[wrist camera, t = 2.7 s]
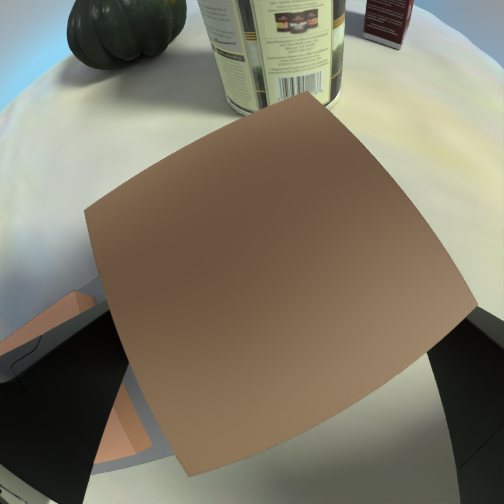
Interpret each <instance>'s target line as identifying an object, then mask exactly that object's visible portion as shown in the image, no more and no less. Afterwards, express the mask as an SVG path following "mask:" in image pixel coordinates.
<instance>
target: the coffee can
mask: <svg viewBox="0 0 504 504" xmlns="http://www.w3.org/2000/svg"><path fill="white" fill-rule="evenodd" d="M197 1H198V4H199V7H200V10H201V14H202V17H203V20H204V23H205V26H206V30H207V33H208V36H209V40H210V43H211V46H212V49H213V52H214V56H215V59H216V63H217V66H218V69H219V73H220V76H221V79H222V82H223V86H224V90H225V96H226V99H227V102H228V103H229V104H230V106H231V107H232V108H233V109H234V110H236V111H237V112H238V113H240V114H242V115H244V116H247V115H250V114H252V113H254V112H256V111H259V110H261V109H263V108H265V107H268V106H270V105H273V104H275V103H277V102H280V101H282V100H285V99H287V98H290V97H292V96H295V95H297V94H300V93H303V92H305V91H308V92H309V93H310V94H311V95H313V96H314V97H315V98H316V99H317V100H318V101H319V102H320V103H321V104H323V105H324V106H325V107H326V108H327V109H328V110H330V109H331V108H332V107H333V106H334V105H335V104H336V102H337V101H338V99H339V97H340V94H341V76H342V65H343V48H344V27H345V2H346V0H197Z"/></svg>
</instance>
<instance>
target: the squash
mask: <svg viewBox="0 0 504 504" xmlns="http://www.w3.org/2000/svg"><path fill="white" fill-rule="evenodd" d="M186 11H187V6H186V0H76V1H75V3H74V5H73V8H72V10H71V12H70V15H69V19H68V25H67V41H68V44H69V48H70V50H71V51H72V52H73V54H74V55H75V56H76V57H77V58H78V59H79V60H80V61H81V62H83V63H84V64H85V65H87V66H89V67H92V68H95V69H100V70H107V69H111V68H116V67H119V66H121V65H123V64H124V63H126V62H127V60H132V59H135V58H137V57H138V56H139V55H140V54H141V52H142V53H143V54H145V55H148V56H153V55H158V54H160V53H162V52H163V51H164V50H165V49H166V48H167V46H168V44H169V42H170V41H171V40H173V39H174V38H176V37H177V36H178V35H179V34H180V32H181V31H182V29H183V27H184V25H185V21H186Z"/></svg>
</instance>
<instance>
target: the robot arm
mask: <svg viewBox="0 0 504 504" xmlns="http://www.w3.org/2000/svg"><path fill="white" fill-rule="evenodd" d="M427 355H428V358H429V361H430V364H431V367H432V371H433V374H434V377H435V380H436V384H437V387H438V390H439V394H440V398H441V401H442V405H443V409H444V413H445V417H446V421H447V425H448V429H449V434H450V438H451V443H452V448H453V453H454V458H455V464H456V469H457V478H458V485H459V493H460V502H461V504H504V321H502V320H501V319H499V318H497V317H496V316H494V315H492V314H491V313H489V312H487V311H485V310H484V309H482V308H480V307H478V306H476V307H475V308H474V309H473V310H472V311H471V312H470V313H469V314H468V315H467V316H466V317H465V318H464V319H463V320H462V321H461V322H460V323H459V324H458V325H457V326H456V327H455V328H454V329H452V330H451V331H450V332H449V333H448V334H447V335H446V336H445V337H444V338H442V339H441V340H440V341H439V342H438V343H437V344H435V345H434V346H433V347H432V348H431V349H430V350H428V351H427ZM128 365H129V360H128V358H127V355H126V353H125V350H124V348H123V345H122V343H121V340H120V337H119V334H118V332H117V329H116V326H115V323H114V320H113V318H112V315H111V312H110V309H109V306H108V302H107V299H106V300H105V301H103V302H101V303H99V304H97V305H95V306H93V307H91V308H89V309H88V310H86V311H84V312H82V313H80V314H78V315H76V316H74V317H73V318H71V319H69V320H67V321H65V322H63V323H61V324H60V325H58V326H56V327H54V328H52V329H50V330H49V331H47V332H45V333H43V335H42V334H41V335H39V336H38V337H36V338H34V339H32V340H30V341H28V342H26V343H25V344H23V345H21V346H19V347H17V348H15V349H13V350H11V351H9V352H7V353H5V354H2V355H0V504H49V502H50V500H53V501H54V502H56V503H58V504H83V500H84V496H85V493H86V489H87V485H88V482H89V478H90V475H91V472H92V468H93V465H94V461H95V458H96V455H97V452H98V449H99V445H100V442H101V439H102V436H103V433H104V430H105V428H106V425H107V422H108V419H109V416H110V413H111V410H112V408H113V405H114V402H115V399H116V397H117V394H118V391H119V389H120V386H121V383H122V381H123V378H124V376H125V373H126V371H127V368H128Z"/></svg>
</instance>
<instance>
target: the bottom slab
mask: <svg viewBox="0 0 504 504" xmlns="http://www.w3.org/2000/svg"><path fill="white" fill-rule="evenodd" d="M78 292H81V293H83V294H86V295H89V296H92V297H93V299H94V302H95V305H97V304H99V303H101V302H103V301H105V300H106V296H105V293H104V290H103V286H102V283H101V279H100V276H99V277H98V278H96V279H95V280H93V281H92V282H90V283H89V284H87V285H86V286H84V287H83V288H81V289H80V290H78ZM122 382H123V384H124V386H125V389H126V391H127V393H128V395H129V398H130V400H131V402H132V404H133V406H134V409H135V411H136V413H137V415H138V417H139V419H140V421H141V423H142V425H143V427H144V429H145V431H146V433H147V435H148V437H149V439H150V440H151V442H152V444H153V445H152V446H150V447H149V448H147V449H145V450H143V451H141V452H139V453H138V454H135V455H131V456H127V457H123V458H119V459H115V460H111V461H106V462H101V463H97V464H94V465H93V468H92V472H91V475H93V474H99V473H104V472H109V471H114V470H118V469H123V468H127V467H131V466H135V465H139V464H143V463H147V462H150V461H154V460H158V459H161V458H164V457H168V456H171V455H174V452H173V450H172V449H171V447H170V445H169V443H168V442H167V440H166V438H165V436H164V434H163V432H162V431H161V429H160V427H159V425H158V423H157V421H156V419H155V417H154V415H153V413H152V411H151V409H150V407H149V405H148V403H147V401H146V399H145V397H144V395H143V392H142V390H141V388H140V386H139V384H138V381H137V379H136V377H135V375H134V372H133V370H132V368H131V365H130V363H129V365H128V368H127V371H126V373H125V376H124V378H123V381H122Z"/></svg>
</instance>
